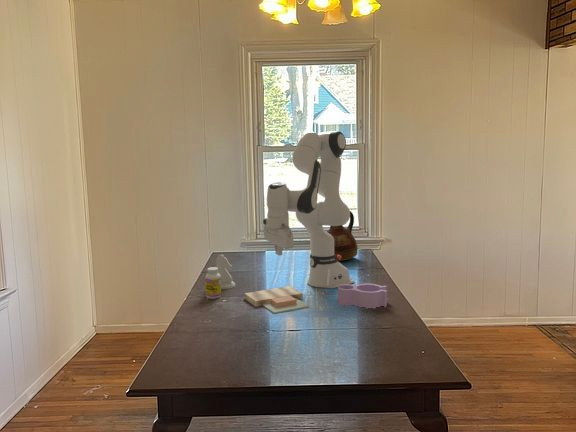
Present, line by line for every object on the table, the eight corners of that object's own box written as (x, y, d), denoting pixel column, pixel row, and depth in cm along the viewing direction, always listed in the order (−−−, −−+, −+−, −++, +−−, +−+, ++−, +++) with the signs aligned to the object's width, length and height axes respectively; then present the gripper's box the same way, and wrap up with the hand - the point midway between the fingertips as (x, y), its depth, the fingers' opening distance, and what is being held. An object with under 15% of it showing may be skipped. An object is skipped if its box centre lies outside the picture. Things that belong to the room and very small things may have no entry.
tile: (290, 300, 215) (290, 295, 214) (296, 304, 209) (296, 299, 209) (270, 303, 211) (270, 298, 210) (276, 307, 205) (276, 302, 205)
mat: (296, 299, 217) (296, 298, 217) (309, 307, 207) (309, 305, 207) (262, 305, 210) (262, 304, 210) (274, 313, 200) (274, 312, 200)
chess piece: (230, 289, 232) (229, 258, 229) (210, 288, 235) (209, 256, 233) (238, 283, 241) (237, 253, 239) (219, 282, 244) (218, 251, 242)
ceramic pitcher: (316, 257, 292) (316, 205, 287) (348, 254, 298) (349, 203, 293) (329, 265, 274) (329, 210, 269) (363, 262, 280) (364, 208, 275)
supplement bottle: (203, 298, 220) (202, 269, 218) (209, 294, 226) (208, 266, 224) (218, 299, 218) (217, 270, 216) (223, 295, 224) (222, 266, 222)
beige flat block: (289, 291, 229) (289, 285, 229) (302, 298, 218) (302, 293, 218) (244, 298, 219) (244, 293, 219) (255, 306, 209) (255, 301, 208)
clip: (337, 307, 207) (337, 291, 206) (339, 297, 219) (339, 282, 218) (386, 309, 204) (387, 293, 203) (386, 299, 216) (386, 284, 215)
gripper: (297, 225, 202) (297, 259, 204) (273, 217, 219) (274, 248, 222) (283, 227, 199) (283, 261, 201) (260, 219, 216) (261, 250, 219)
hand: (278, 254), depth 212 cm, fingers closed
